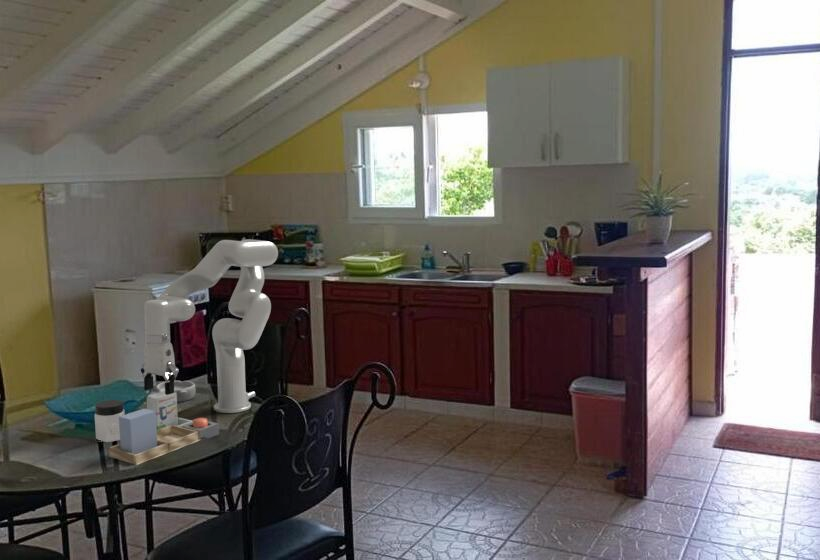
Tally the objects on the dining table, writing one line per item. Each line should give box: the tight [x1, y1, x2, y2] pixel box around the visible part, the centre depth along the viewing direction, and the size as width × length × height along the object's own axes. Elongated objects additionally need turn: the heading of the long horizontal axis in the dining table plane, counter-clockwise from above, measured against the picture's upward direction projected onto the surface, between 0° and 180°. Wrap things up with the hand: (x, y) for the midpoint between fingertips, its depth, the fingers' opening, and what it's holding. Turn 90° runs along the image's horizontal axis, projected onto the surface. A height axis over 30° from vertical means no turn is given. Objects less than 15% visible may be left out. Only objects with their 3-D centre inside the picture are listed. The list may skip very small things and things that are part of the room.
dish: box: [155, 380, 196, 403], centre depth 303 cm, size 14×14×5 cm
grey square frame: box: [182, 420, 220, 439], centre depth 262 cm, size 8×8×4 cm
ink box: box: [146, 391, 179, 430], centre depth 267 cm, size 9×5×12 cm, turn 148°
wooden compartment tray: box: [107, 425, 201, 466], centre depth 248 cm, size 24×13×4 cm, turn 147°
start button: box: [192, 417, 208, 429], centre depth 261 cm, size 4×4×4 cm
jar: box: [94, 399, 126, 443], centre depth 257 cm, size 9×8×12 cm
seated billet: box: [119, 408, 157, 454], centre depth 242 cm, size 9×5×12 cm, turn 147°
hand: (159, 391), depth 266 cm, fingers open, 9 cm apart
